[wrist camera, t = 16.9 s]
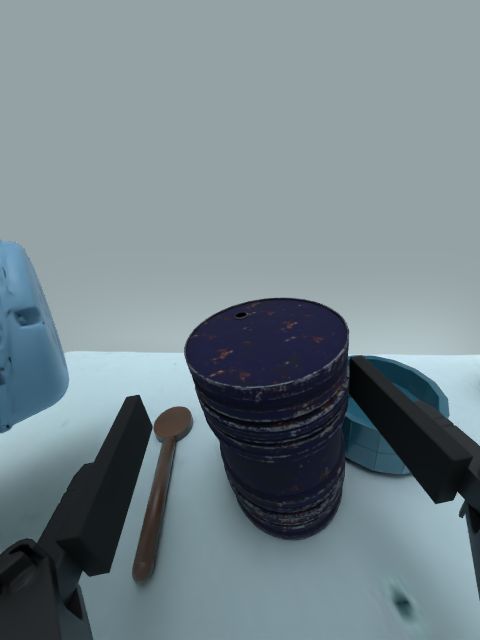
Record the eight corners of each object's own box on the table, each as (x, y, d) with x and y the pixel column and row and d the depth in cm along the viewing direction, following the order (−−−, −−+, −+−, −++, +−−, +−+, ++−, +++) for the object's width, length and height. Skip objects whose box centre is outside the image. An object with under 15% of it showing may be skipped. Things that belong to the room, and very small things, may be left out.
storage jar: (372, 490, 18) (397, 331, 11) (269, 579, 15) (217, 432, 8) (293, 407, 26) (279, 287, 19) (216, 453, 23) (168, 328, 16)
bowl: (322, 467, 20) (323, 425, 18) (316, 389, 29) (316, 354, 27) (460, 489, 18) (481, 442, 15) (407, 395, 26) (415, 356, 24)
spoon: (175, 579, 15) (170, 570, 15) (110, 593, 15) (102, 584, 14) (194, 409, 29) (192, 401, 28) (160, 415, 29) (157, 407, 28)
